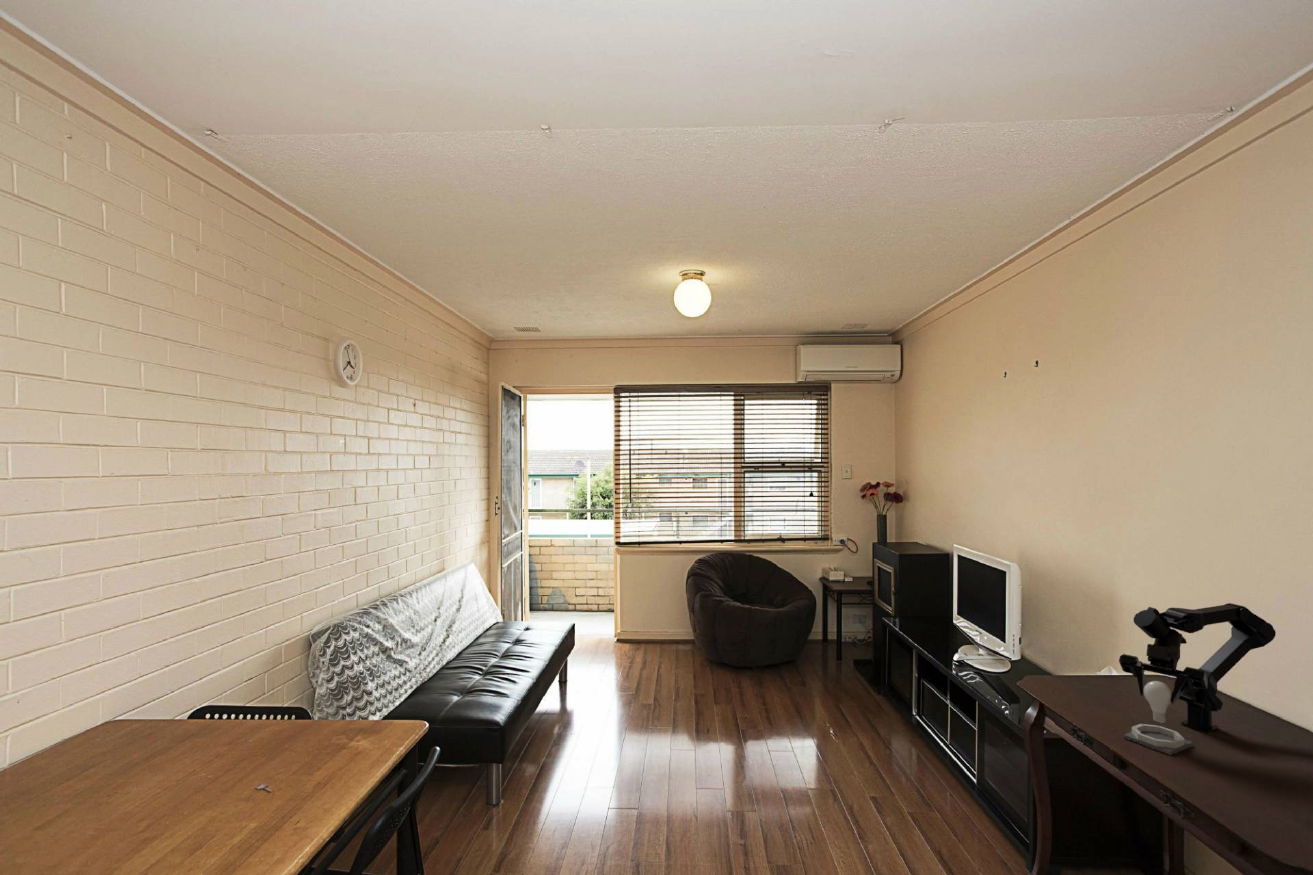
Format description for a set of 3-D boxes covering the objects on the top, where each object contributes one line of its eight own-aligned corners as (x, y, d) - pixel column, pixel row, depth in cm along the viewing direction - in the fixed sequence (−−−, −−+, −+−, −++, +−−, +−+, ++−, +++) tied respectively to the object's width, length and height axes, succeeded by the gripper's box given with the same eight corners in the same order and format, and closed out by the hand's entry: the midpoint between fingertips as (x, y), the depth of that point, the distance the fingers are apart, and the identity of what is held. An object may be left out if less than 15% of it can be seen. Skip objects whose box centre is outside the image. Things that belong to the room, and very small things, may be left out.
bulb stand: (1146, 729, 184) (1145, 721, 184) (1192, 746, 175) (1192, 736, 175) (1123, 738, 179) (1123, 729, 179) (1170, 755, 170) (1170, 745, 170)
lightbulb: (1179, 728, 173) (1177, 686, 173) (1152, 727, 174) (1150, 685, 175) (1166, 718, 179) (1163, 677, 180) (1140, 717, 181) (1137, 677, 181)
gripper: (1120, 625, 187) (1108, 673, 180) (1204, 640, 172) (1195, 693, 165) (1128, 646, 192) (1118, 694, 185) (1211, 662, 178) (1203, 715, 170)
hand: (1156, 698), depth 176 cm, fingers closed on lightbulb, 6 cm apart
